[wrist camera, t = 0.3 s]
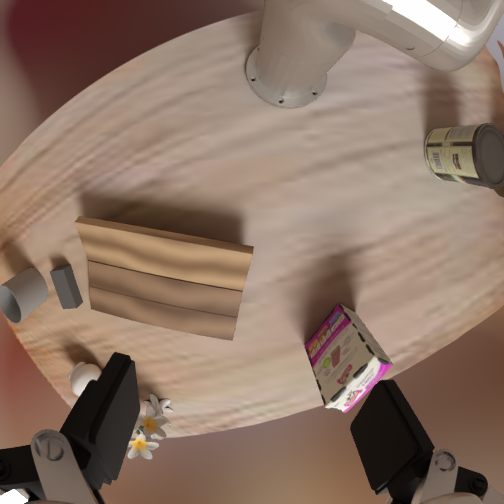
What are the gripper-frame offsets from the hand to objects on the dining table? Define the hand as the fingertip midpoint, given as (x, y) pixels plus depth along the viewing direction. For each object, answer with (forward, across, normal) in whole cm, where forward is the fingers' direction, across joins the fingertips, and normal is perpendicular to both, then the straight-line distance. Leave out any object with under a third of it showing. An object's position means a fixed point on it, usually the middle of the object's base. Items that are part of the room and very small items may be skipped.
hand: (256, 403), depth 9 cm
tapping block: (+36, +33, +17) cm, 51 cm away
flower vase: (+36, +22, +42) cm, 59 cm away
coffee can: (+35, -34, -21) cm, 53 cm away
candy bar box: (+36, -19, +17) cm, 44 cm away
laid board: (+35, +13, +15) cm, 41 cm away
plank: (+33, +13, +6) cm, 35 cm away
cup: (+36, +44, +20) cm, 60 cm away
